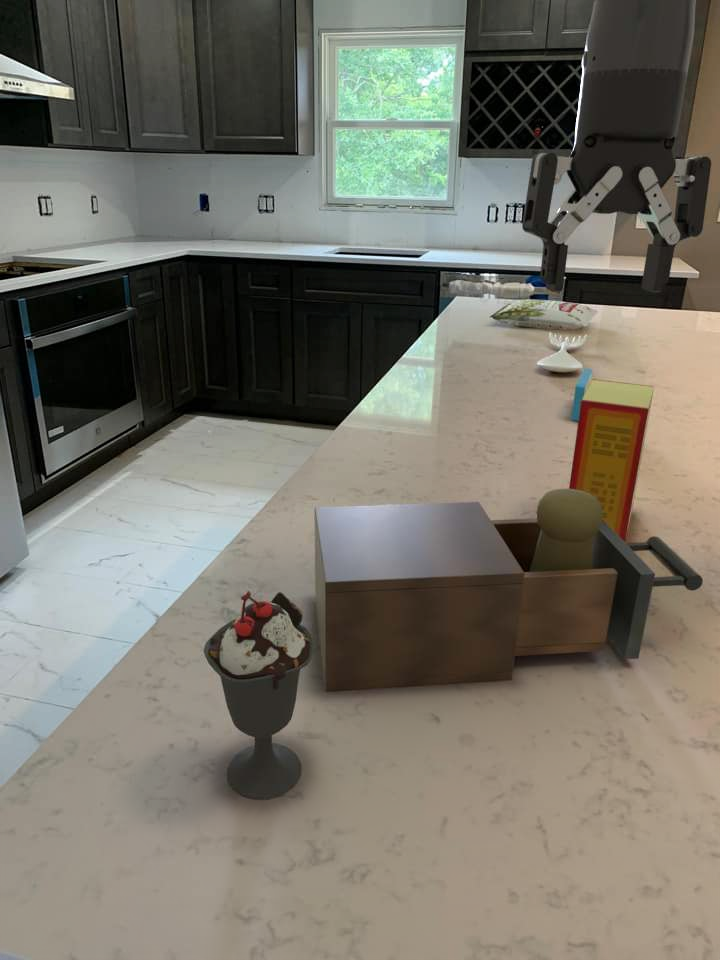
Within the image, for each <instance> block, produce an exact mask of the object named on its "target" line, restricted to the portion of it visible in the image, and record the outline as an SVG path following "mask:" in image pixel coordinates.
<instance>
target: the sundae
mask: <svg viewBox="0 0 720 960" xmlns="http://www.w3.org/2000/svg"><path fill="white" fill-rule="evenodd" d="M251 595H252V593H251V591H250V590H247V592H246V593H245V594H243V595H242V596H241V597H240V600H242V607H241V611H240V613H239V614H238V615H237V617H236V618H235V619H232V620H231V621H228V622H227V623H226V624H224V625H223V626H222V627H220V628H219V629H218V630H217V631H216V632H214V634H212V636H210V638H209V639H207V641H206V642H205V644H204V648H203V653H204V657H205V659H206V662H207V663H208V664H209V666H210V667H211V668H212V669H213V670H214V672H215V673H216V674H217V675H218V676H219V677H220V681H221V685H222V690H223V695H224V699H225V703H226V707H227V710H228V713H229V716H230V718H231V721H232V723H233V725H234V727H235V728H236V729H237V730H238V731H240V732H241V733H243V734H244V735H246V736H249V737H252V738H253V739H254V745H251V746H248V747H245V748H244V749H242V750H240V751H239V752H238V753H236V755H234V757H233V758H232V759H231V761H230V762H229V763H228V766H227V770H226V779H227V783H228V784H229V786H230V788H231V789H232V790H233V791H234V792H236V794H238V795H240V796H242V797H244V798H246V799H247V798H248V799H251V800H260V801H261V800H271V799H274V798H278V797H280V796H282V795H285V794H286V793H288V792H289V791H291V790H292V789H293V788H294V787H295V786H296V785H297V783H298V782H299V780H300V778H301V776H302V769H303V768H302V767H303V766H302V762H301V760H300V757H299V756H298V755H297V753H296V752H294V751H293V749H291V748H289V746H285V745H283V744H280V743H276V742H273V736H274V735H276V734H278V733H279V732H280V731H282V730H283V729H284V728H286V727H287V726H288V725H289V723H290V722H291V721H292V718H293V715H294V710H295V707H296V701H297V694H298V688H299V678H300V674H301V670H302V669H304V668H305V667H306V666H308V664H309V663H310V662H311V659H312V656H313V654H314V638H313V635H312V634H311V632H310V630H308V628H307V627H306V626H304V625H302V624H301V623H302V621H303V615H304V613H303V611H302V610H301V609H300V608H299V607H298V606H297V605H296V604H295V603H294V602H293V601H292V600H291V599H289V598H288V597H287V596H286V595H285V594H284V593H283V592H281V591H279V592H277V593H276V594H275V595H274V597H273V598H272V600H271V601H268V600H267V601H266V600H259V601H257V600H256V599H254V598H252V597H251ZM248 600H250V601H251V602H252V603H249V604H248V605H246V604H247V603H246V602H247V601H248Z"/></svg>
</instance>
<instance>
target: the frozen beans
mask: <svg viewBox="0 0 720 960" xmlns="http://www.w3.org/2000/svg"><path fill="white" fill-rule="evenodd" d="M598 313H600V310H599V311H598V310H597V309H593V308H592V307H589V306H587V305H583V304H580V303H577V302H576V303H575V302H569V301H560V300H547V299H532V298H531V299H530V298H529V299H528V298H527V299H526V298H525V299H520V300H517V301H513V302H512V303H510V302H509V303H507V304H506V305H504V306H502V307H501V308H500V309H499V310H497V311H495V312H494V313H493V314H491V315H490V316H489V318H492V319H493V320H495V321H497V322H499V323H502V324H507V325H513V326H520V327H525V328H526V327H527V328H534V329H546V330H563V331H564V330H565V331H572V330H574V331H575V330H578V329H581V328H583V327H587V325H589V323H590V321H591V320H592V319H593V318H594V317H595V316H596V315H597V314H598Z"/></svg>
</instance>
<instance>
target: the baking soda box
mask: <svg viewBox="0 0 720 960" xmlns="http://www.w3.org/2000/svg"><path fill="white" fill-rule="evenodd" d="M654 390H655V386H654V385H647V384H639V383H638V384H637V383H629V382H620V381H613V380H603V379H595V378H594V379H593V378H592V383H591V384H590V386H589V388H588V390H587V392H586V393H585V395H584V397H583V399H582V400H581V406H580V414H579V421H577V428H576V435H575V444H574V450H573V457H572V465H571V471H570V480H569V486H568V489H575V490H580V491H583V492H586V493H588V494H590V495H592V496H593V497H595V498H596V499H597V500H598V501H599V503H600V505H601V508H602V515H603V518H602V519H603V520H604V521H605V522H606V523H607V524H608V525H609V526H610V527H611V529H612V530H613V531H614V532H615V533H616V534H617V535H618V536H619V537H620V538H621V539H622V540H623V541H624V542H625V543H626V540H627V536H628V532H629V527H630V523H631V519H632V514H633V508H634V503H635V497H636V493H637V486H638V480H639V474H640V470H641V469H640V468H641V464H642V458H643V451H644V447H645V441H646V435H647V431H648V430H647V429H648V423H649V418H650V413H651V407H652V401H653V397H654Z"/></svg>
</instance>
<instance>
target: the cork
mask: <svg viewBox="0 0 720 960" xmlns="http://www.w3.org/2000/svg"><path fill="white" fill-rule="evenodd" d="M602 518H603V515H602V508H601V505H600V503H599V501H598V500H597V499H596V498H595V497H593V496H592V495H590V494H588V493H586V492H583V491H580V490H575V489H569V488H557V489H551V490H549V491H547V492H545V493H544V494H543V496H542V497H541V498H540V500H539V502H538V503H537V506H536V519H537V521H538V524H539V526H540V528H541V532H540V536H539V539H538V543H537V546H536V550H535V554H534V557H533V561H532V565H531V568H530V572H543V571H564V570H586V569H592V537H593V536H594V535H595V534H596V533H597V531H598V529H599V527H600V525H601V523H602Z"/></svg>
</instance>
